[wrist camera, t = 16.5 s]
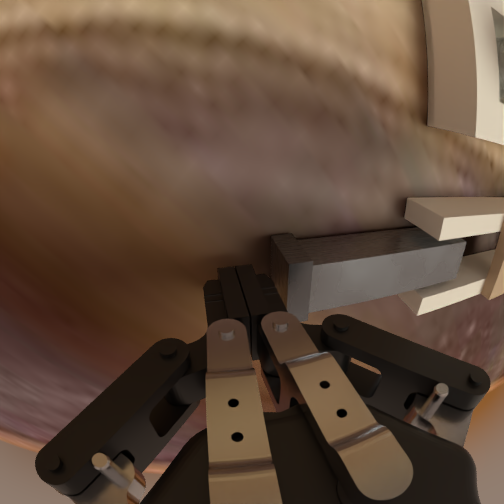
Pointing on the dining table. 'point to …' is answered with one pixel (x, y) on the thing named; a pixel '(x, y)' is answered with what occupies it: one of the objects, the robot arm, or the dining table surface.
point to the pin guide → (472, 266)
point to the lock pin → (358, 267)
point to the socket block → (464, 66)
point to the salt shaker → (500, 64)
